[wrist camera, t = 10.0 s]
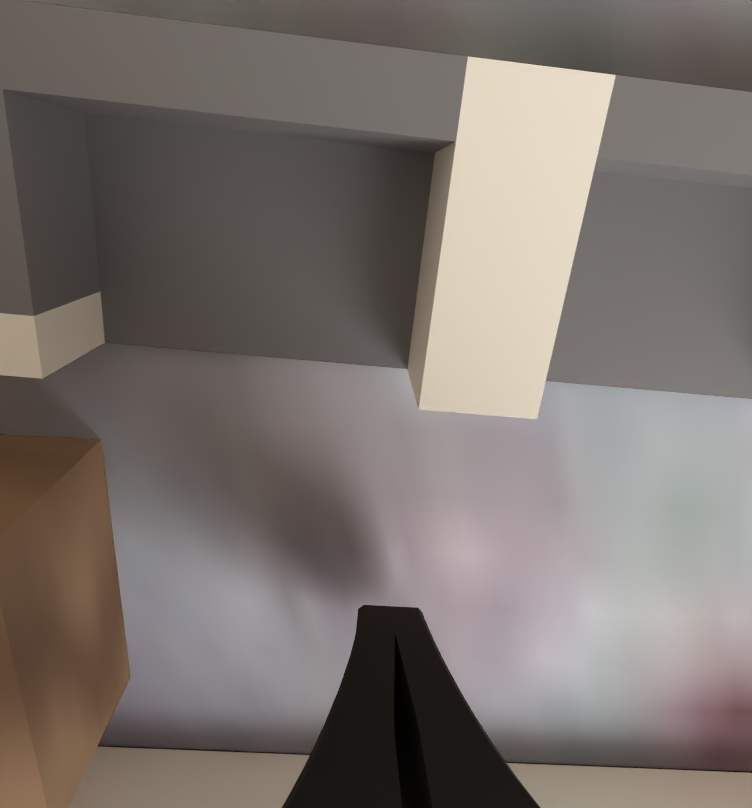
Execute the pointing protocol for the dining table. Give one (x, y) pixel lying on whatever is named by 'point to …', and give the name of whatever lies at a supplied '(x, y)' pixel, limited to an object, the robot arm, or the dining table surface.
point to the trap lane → (369, 255)
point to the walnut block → (55, 617)
